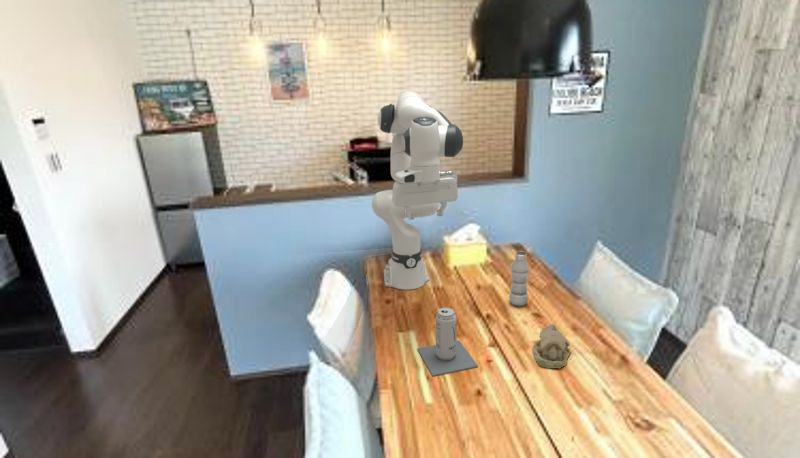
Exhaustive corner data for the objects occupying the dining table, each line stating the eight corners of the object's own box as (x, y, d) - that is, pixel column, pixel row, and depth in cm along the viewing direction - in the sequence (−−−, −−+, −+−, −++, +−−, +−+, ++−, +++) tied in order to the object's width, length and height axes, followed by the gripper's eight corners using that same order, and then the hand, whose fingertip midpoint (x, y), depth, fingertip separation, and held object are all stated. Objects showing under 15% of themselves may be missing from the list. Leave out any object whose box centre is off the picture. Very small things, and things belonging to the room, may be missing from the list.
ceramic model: (532, 340, 146) (534, 312, 143) (569, 345, 143) (572, 316, 140) (532, 367, 133) (534, 337, 130) (573, 372, 131) (576, 342, 127)
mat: (417, 349, 143) (417, 348, 143) (459, 341, 147) (459, 340, 147) (432, 376, 130) (432, 375, 130) (478, 367, 134) (478, 365, 134)
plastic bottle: (531, 306, 167) (534, 254, 161) (515, 309, 165) (518, 258, 158) (520, 298, 173) (523, 248, 166) (505, 302, 170) (507, 251, 164)
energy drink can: (454, 362, 135) (454, 317, 130) (434, 360, 137) (433, 315, 132) (457, 351, 141) (457, 307, 136) (437, 348, 142) (437, 305, 138)
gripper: (453, 168, 143) (453, 211, 148) (389, 174, 138) (391, 218, 143) (461, 172, 137) (460, 216, 142) (395, 178, 132) (397, 224, 137)
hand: (425, 217), depth 142 cm, fingers open, 8 cm apart
